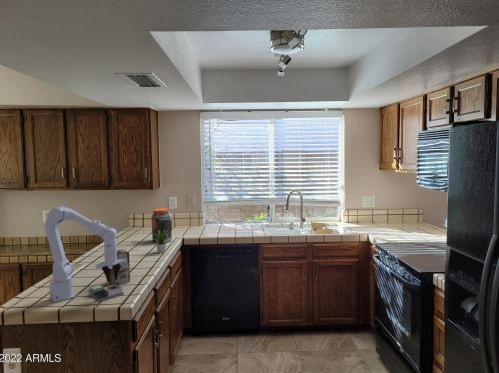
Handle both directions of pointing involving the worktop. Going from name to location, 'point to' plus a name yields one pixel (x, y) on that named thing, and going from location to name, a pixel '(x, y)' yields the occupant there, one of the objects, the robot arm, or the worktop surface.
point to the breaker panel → (107, 292)
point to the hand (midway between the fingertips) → (111, 280)
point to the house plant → (161, 241)
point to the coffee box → (123, 267)
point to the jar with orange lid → (161, 223)
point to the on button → (97, 288)
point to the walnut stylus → (112, 277)
